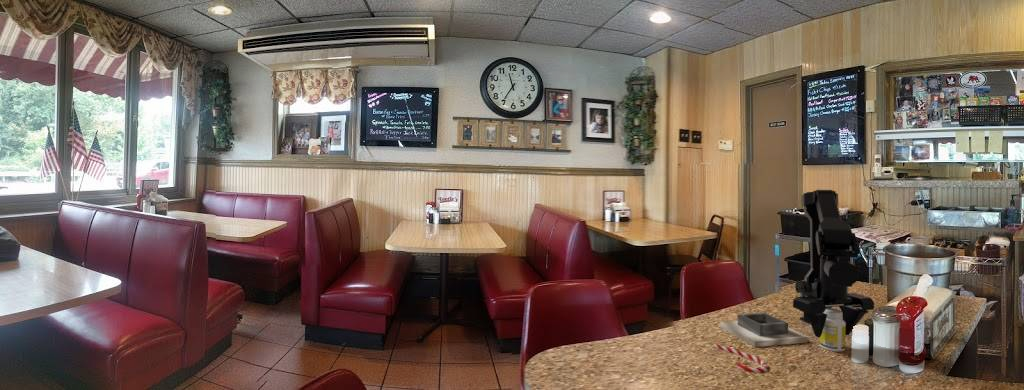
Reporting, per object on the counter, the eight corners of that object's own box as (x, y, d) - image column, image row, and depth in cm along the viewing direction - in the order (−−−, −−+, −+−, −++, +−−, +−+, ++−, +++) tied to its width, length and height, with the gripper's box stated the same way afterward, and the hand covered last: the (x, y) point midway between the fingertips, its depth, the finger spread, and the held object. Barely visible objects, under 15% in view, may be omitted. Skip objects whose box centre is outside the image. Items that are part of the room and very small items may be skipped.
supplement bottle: (835, 343, 111) (837, 307, 110) (850, 352, 105) (851, 314, 105) (814, 343, 111) (815, 306, 111) (827, 351, 106) (828, 313, 105)
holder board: (768, 323, 125) (768, 308, 125) (808, 342, 112) (808, 325, 111) (719, 327, 123) (720, 312, 123) (754, 347, 109) (755, 330, 109)
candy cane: (722, 341, 111) (777, 365, 97) (722, 346, 111) (777, 370, 97) (700, 346, 108) (753, 371, 94) (700, 351, 108) (753, 377, 94)
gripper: (836, 267, 117) (834, 322, 117) (776, 270, 114) (775, 327, 114) (877, 277, 106) (874, 337, 106) (812, 281, 103) (810, 343, 103)
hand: (832, 335), depth 108 cm, fingers open, 8 cm apart
